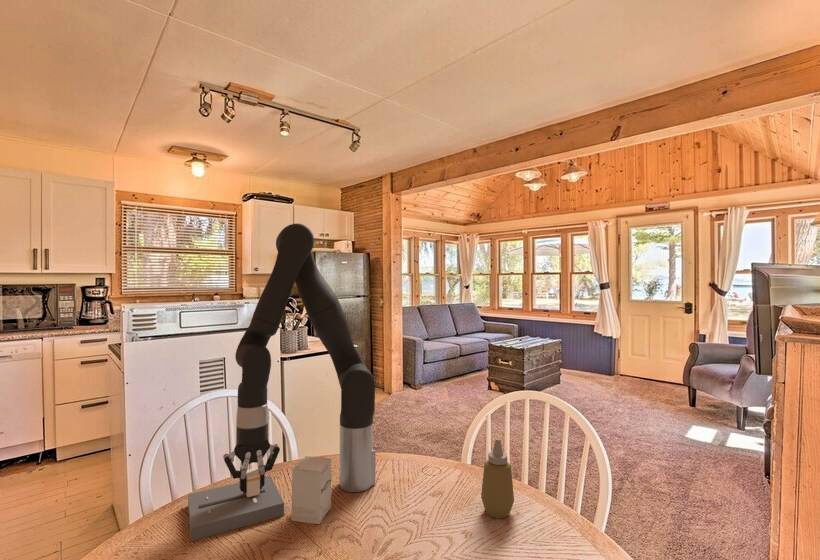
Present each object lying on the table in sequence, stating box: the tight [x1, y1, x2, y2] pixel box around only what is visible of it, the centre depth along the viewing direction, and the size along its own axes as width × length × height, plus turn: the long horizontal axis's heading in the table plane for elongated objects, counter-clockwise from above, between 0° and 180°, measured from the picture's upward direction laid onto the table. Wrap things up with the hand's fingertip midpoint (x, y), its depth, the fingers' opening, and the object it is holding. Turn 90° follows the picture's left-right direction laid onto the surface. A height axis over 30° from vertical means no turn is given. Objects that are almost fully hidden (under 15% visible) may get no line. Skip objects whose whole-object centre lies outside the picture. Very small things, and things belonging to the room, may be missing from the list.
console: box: [187, 475, 285, 542], centre depth 101 cm, size 20×16×3 cm
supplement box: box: [291, 455, 332, 525], centre depth 99 cm, size 7×7×13 cm
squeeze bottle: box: [480, 438, 515, 519], centre depth 101 cm, size 8×8×18 cm
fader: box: [246, 467, 260, 497], centre depth 103 cm, size 3×4×5 cm
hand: (252, 489), depth 103 cm, fingers closed on fader, 3 cm apart
